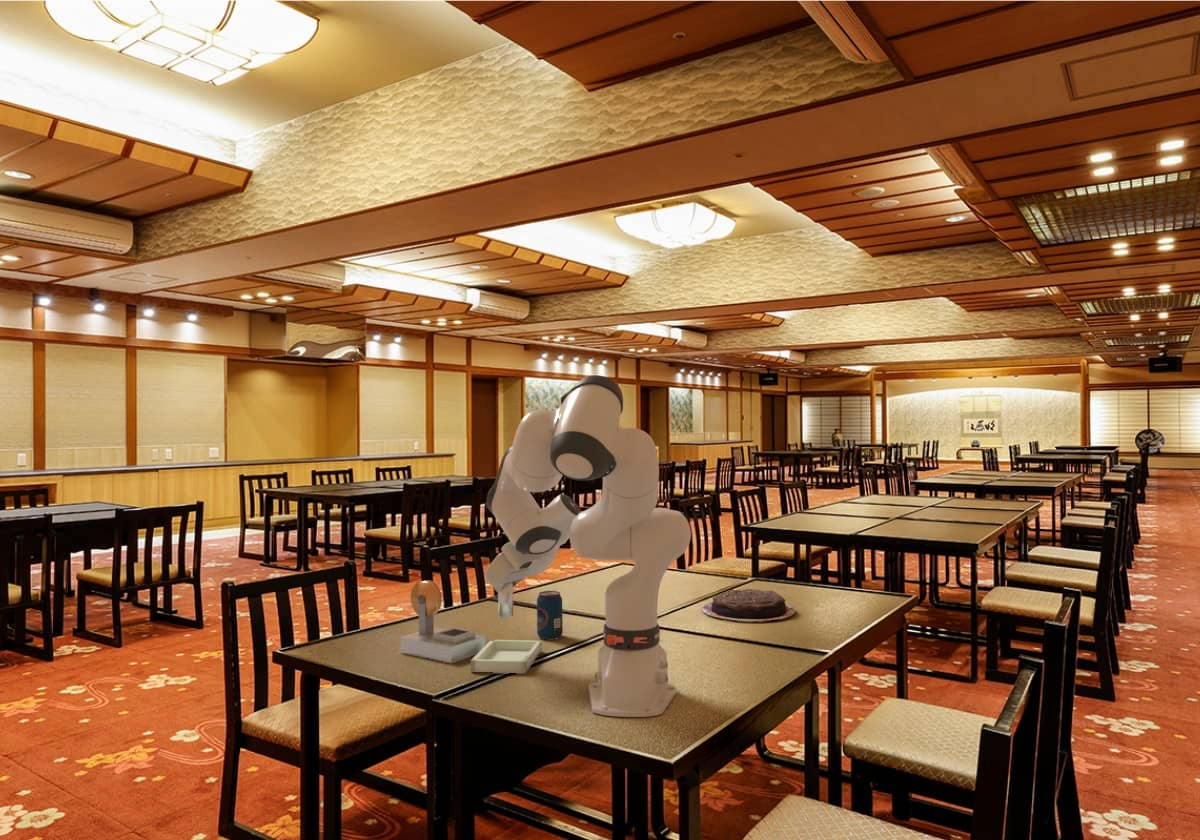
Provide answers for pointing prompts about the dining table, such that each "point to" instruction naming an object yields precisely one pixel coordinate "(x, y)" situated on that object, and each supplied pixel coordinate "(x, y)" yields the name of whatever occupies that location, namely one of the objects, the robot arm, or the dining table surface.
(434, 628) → the block
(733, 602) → the chocolate cake
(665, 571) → the robot arm
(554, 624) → the soda can
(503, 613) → the dome-capped glass cylinder
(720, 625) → the dining table surface
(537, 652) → the tray
